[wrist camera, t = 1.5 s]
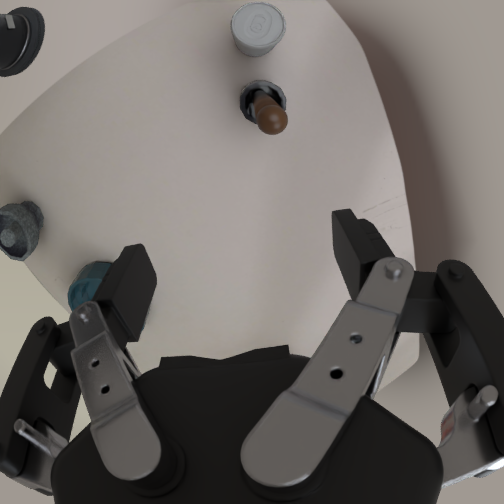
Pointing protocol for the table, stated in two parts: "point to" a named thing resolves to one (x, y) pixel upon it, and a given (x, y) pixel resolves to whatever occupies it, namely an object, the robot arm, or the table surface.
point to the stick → (268, 114)
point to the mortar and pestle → (20, 229)
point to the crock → (260, 85)
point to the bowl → (88, 285)
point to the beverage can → (257, 28)
